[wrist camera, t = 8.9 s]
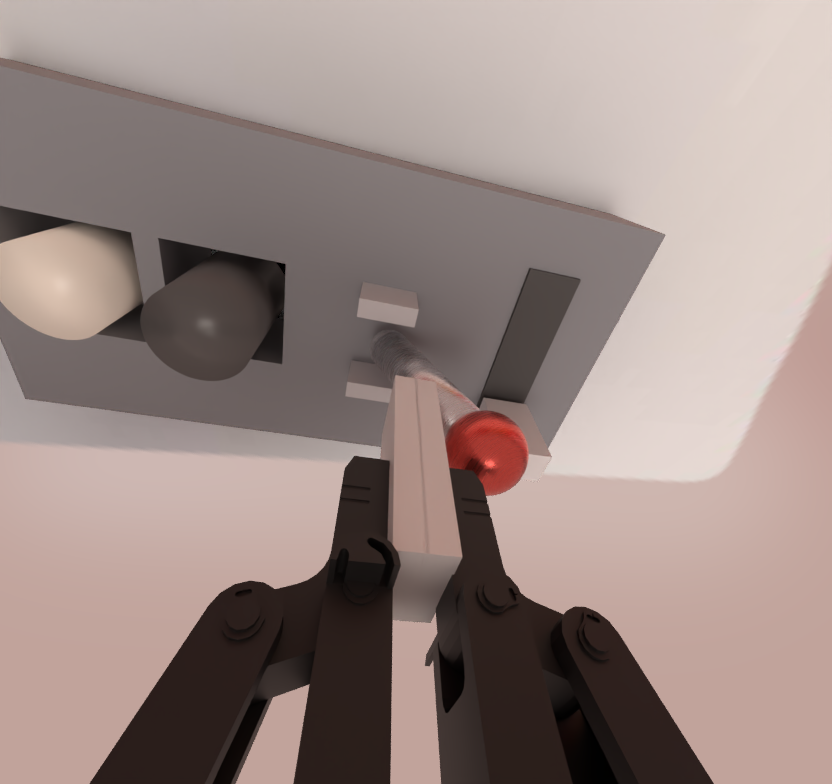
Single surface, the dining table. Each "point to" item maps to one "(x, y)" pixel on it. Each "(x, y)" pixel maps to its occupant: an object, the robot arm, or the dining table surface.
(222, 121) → the console
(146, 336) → the button black
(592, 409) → the dining table surface
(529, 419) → the slider
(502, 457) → the lever
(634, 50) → the dining table surface
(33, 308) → the button cream
